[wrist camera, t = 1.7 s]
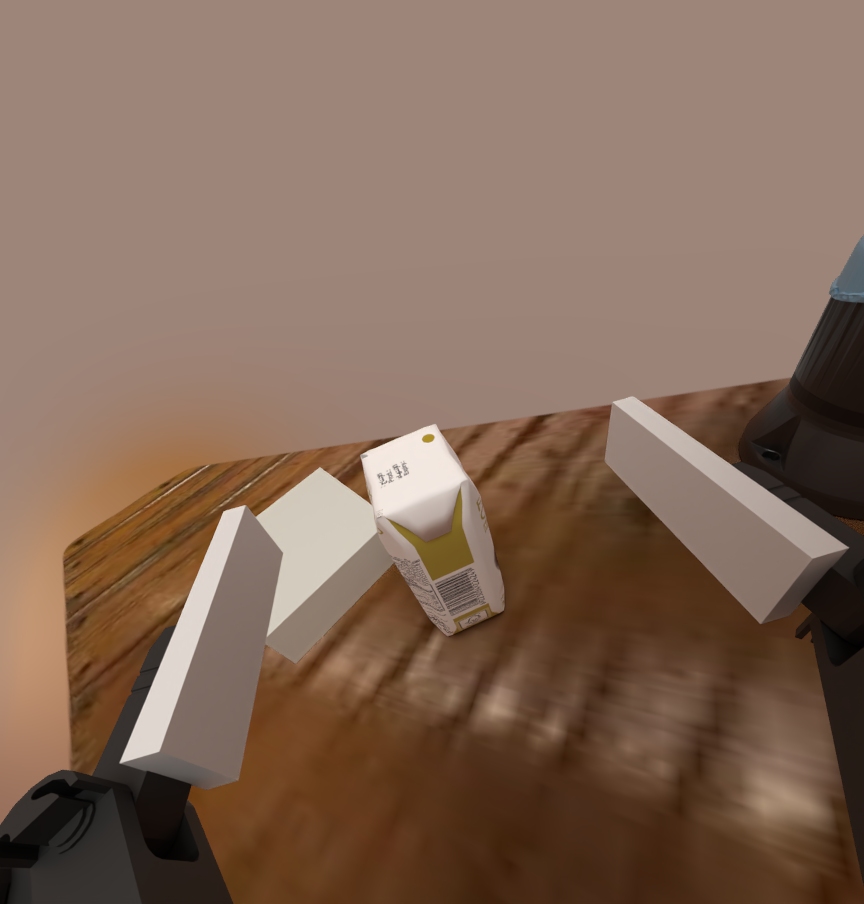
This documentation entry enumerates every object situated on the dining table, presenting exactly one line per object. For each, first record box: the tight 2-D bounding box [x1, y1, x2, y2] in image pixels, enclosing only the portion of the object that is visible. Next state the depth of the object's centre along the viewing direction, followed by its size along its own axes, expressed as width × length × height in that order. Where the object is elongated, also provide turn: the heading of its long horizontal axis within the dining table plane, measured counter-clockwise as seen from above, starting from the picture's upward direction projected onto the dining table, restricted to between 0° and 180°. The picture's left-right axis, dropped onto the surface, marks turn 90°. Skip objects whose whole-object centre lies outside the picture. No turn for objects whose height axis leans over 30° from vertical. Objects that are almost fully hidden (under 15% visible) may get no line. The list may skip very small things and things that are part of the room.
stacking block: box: [256, 468, 394, 664], centre depth 42 cm, size 16×16×6 cm
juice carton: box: [360, 424, 505, 636], centre depth 30 cm, size 8×9×19 cm
